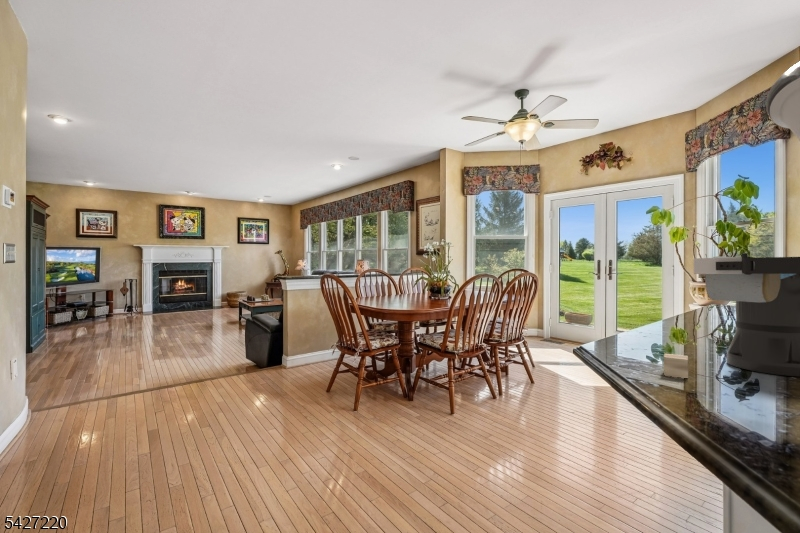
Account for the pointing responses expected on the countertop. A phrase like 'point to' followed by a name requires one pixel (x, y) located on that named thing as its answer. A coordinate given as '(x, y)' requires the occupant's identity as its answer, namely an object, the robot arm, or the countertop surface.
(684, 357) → the birch block
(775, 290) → the ceramic mug
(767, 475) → the countertop surface
